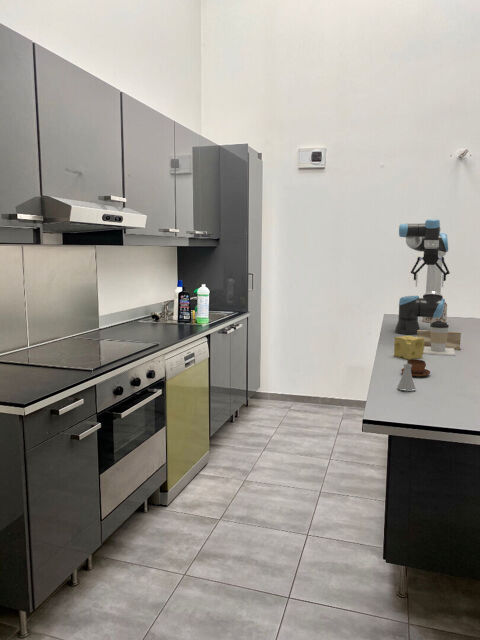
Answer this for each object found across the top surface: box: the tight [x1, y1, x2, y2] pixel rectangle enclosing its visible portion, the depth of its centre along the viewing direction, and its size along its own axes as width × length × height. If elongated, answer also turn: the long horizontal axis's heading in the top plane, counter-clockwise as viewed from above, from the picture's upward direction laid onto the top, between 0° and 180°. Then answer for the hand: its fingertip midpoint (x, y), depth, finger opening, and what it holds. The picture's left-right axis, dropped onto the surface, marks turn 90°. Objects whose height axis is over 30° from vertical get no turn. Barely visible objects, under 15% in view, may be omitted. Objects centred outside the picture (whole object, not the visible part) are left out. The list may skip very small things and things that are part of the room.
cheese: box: [393, 335, 424, 361], centre depth 263 cm, size 10×11×10 cm
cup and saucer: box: [400, 358, 431, 378], centre depth 228 cm, size 12×12×6 cm
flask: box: [397, 363, 416, 390], centre depth 205 cm, size 7×7×10 cm
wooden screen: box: [416, 329, 462, 351], centre depth 285 cm, size 6×22×9 cm, turn 70°
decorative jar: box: [422, 302, 448, 324], centre depth 373 cm, size 12×12×18 cm
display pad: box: [423, 346, 456, 357], centre depth 276 cm, size 16×16×1 cm
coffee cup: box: [429, 321, 450, 352], centre depth 274 cm, size 9×9×15 cm
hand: (429, 286), depth 291 cm, fingers open, 13 cm apart
